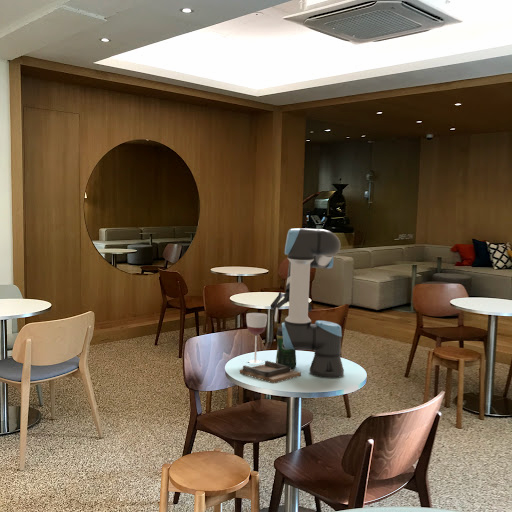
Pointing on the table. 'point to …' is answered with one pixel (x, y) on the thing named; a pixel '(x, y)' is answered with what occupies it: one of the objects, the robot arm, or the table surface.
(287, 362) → the coffee jar
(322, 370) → the robot arm
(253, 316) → the wineglass
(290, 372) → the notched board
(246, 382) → the table surface
